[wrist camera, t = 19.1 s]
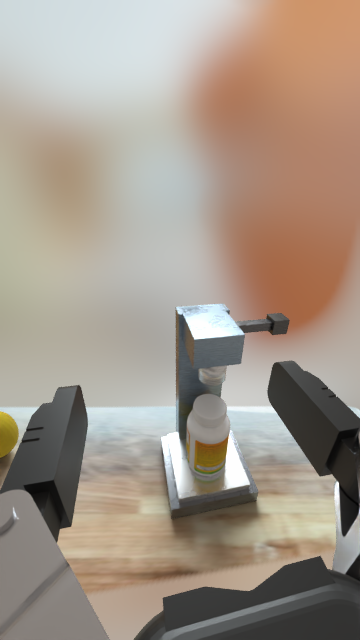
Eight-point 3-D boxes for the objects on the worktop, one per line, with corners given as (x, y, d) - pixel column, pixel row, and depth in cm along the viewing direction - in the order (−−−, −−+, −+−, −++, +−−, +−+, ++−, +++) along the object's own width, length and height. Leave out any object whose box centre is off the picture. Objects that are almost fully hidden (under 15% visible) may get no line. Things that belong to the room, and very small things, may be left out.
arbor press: (171, 518, 30) (168, 365, 20) (160, 440, 40) (154, 308, 30) (283, 494, 33) (332, 347, 22) (247, 426, 42) (271, 300, 32)
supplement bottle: (234, 460, 34) (242, 407, 29) (205, 486, 31) (210, 432, 26) (206, 433, 38) (209, 383, 33) (178, 454, 35) (178, 402, 30)
